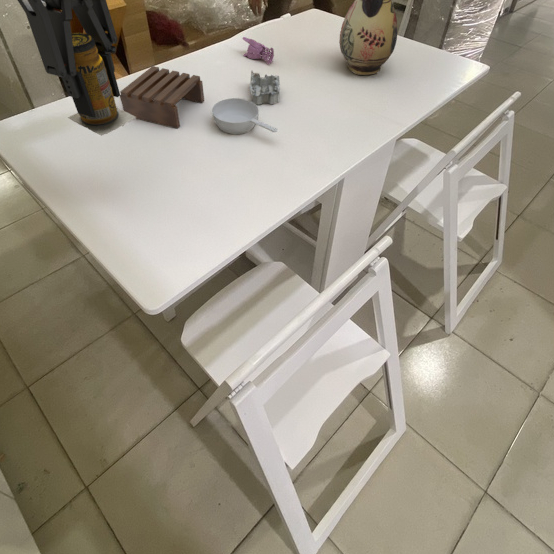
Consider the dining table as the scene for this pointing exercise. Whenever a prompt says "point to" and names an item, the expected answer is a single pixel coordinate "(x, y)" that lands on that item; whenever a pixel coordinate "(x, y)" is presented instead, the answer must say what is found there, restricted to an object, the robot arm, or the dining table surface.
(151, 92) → the rack
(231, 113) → the saucepan
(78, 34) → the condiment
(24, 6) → the robot arm
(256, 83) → the egg carton
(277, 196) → the dining table surface
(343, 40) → the ceramic jug
